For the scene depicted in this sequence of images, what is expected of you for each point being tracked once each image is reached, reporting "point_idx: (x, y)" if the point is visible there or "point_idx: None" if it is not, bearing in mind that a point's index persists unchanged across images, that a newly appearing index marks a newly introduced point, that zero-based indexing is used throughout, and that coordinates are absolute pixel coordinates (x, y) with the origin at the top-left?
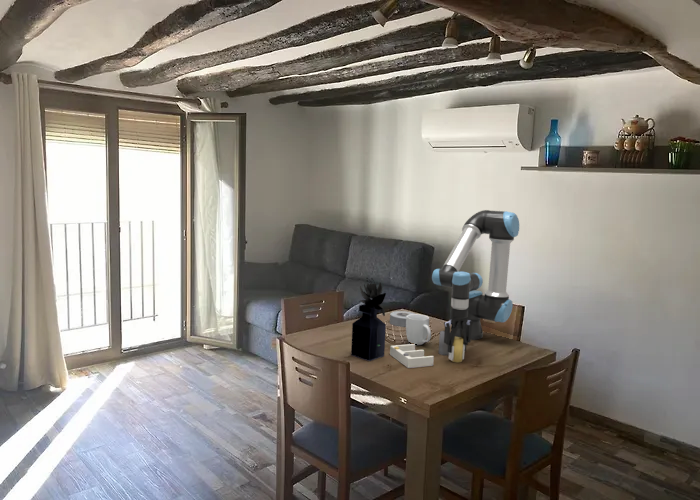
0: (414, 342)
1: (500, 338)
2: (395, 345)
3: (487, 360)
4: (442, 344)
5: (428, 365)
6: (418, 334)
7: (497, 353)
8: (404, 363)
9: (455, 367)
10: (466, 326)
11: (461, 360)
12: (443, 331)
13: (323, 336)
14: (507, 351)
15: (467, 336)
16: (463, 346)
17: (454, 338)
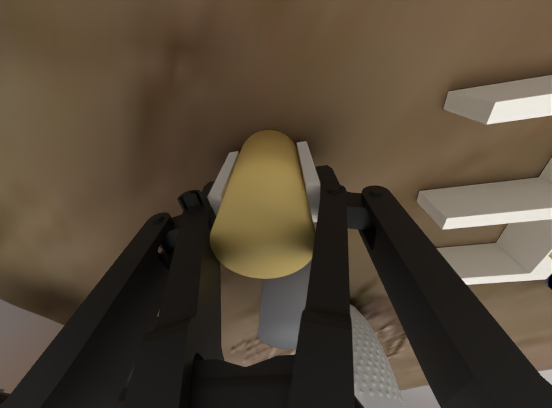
0: (355, 310)
1: (58, 318)
2: (517, 280)
3: (97, 143)
4: (309, 264)
5: (488, 85)
6: (359, 339)
7: (52, 221)
8: None
9: (328, 36)
10: (115, 391)
11: (248, 139)
12: (294, 344)
13: (542, 352)
14: (11, 235)
15: (157, 262)
16: (221, 190)
17: (291, 250)
